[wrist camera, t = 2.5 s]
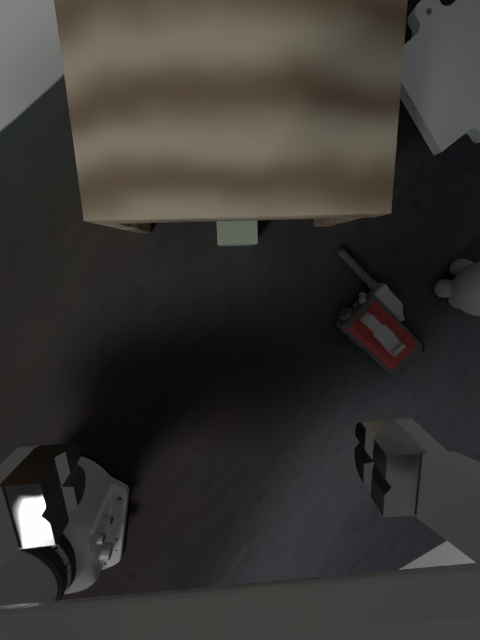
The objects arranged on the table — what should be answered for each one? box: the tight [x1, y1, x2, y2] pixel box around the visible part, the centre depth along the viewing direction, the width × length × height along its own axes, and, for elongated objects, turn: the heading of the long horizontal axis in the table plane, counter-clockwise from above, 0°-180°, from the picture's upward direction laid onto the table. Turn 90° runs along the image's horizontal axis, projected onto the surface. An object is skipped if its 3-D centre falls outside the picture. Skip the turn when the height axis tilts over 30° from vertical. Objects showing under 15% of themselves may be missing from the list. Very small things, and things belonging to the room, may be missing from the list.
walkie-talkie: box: [336, 249, 425, 375], centre depth 43 cm, size 9×4×20 cm
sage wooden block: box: [217, 220, 258, 246], centre depth 37 cm, size 4×4×8 cm
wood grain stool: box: [54, 0, 408, 233], centre depth 31 cm, size 18×26×16 cm
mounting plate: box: [400, 0, 480, 155], centre depth 38 cm, size 18×13×2 cm
